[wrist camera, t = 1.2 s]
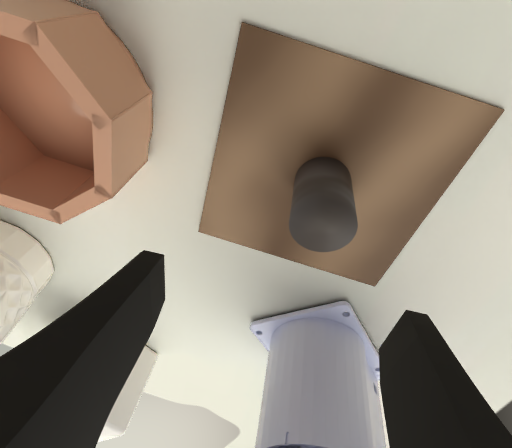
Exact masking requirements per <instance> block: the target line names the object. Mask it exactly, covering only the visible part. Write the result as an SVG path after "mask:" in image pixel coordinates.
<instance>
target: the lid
mask: <svg viewBox="0 0 512 448" xmlns="http://www.w3.org/2000/svg"><path fill="white" fill-rule="evenodd" d="M503 112H504V109H501V108H498V107H495V106H492V105H489V104H486V103H483V102H480V101H477V100H474V99H471V98H468V97H465V96H462V95H459V94H456V93H453V92H450V91H447V90H444V89H441V88H438V87H435V86H432V85H429V84H426V83H423V82H420V81H417V80H414V79H411V78H408V77H405V76H402V75H399V74H396V73H394V72H391V71H388V70H385V69H382V68H379V67H376V66H373V65H370V64H367V63H364V62H361V61H358V60H355V59H352V58H349V57H346V56H343V55H340V54H337V53H334V52H331V51H328V50H325V49H322V48H319V47H316V46H313V45H310V44H307V43H304V42H301V41H298V40H295V39H292V38H289V37H286V36H283V35H280V34H277V33H274V32H271V31H268V30H265V29H262V28H259V27H256V26H253V25H250V24H247V23H244V22H242V24H241V29H240V34H239V38H238V43H237V48H236V53H235V58H234V63H233V67H232V72H231V77H230V82H229V87H228V92H227V96H226V101H225V106H224V111H223V116H222V121H221V125H220V130H219V135H218V140H217V145H216V150H215V154H214V159H213V164H212V169H211V174H210V179H209V183H208V188H207V193H206V198H205V203H204V208H203V212H202V217H201V222H200V227H199V232H201V233H204V234H207V235H211V236H214V237H217V238H220V239H223V240H227V241H230V242H233V243H236V244H240V245H243V246H246V247H249V248H252V249H256V250H259V251H262V252H265V253H269V254H272V255H275V256H278V257H281V258H285V259H288V260H291V261H294V262H298V263H301V264H304V265H307V266H310V267H314V268H317V269H320V270H323V271H327V272H330V273H333V274H336V275H339V276H343V277H346V278H349V279H352V280H356V281H359V282H362V283H365V284H369V285H372V286H376V284H377V283H378V282H379V280H380V279H381V277H382V276H383V275H384V273H385V272H386V271H387V269H388V268H389V267H390V265H391V264H392V263H393V261H394V260H395V258H396V257H397V256H398V254H399V253H400V252H401V250H402V249H403V248H404V246H405V245H406V243H407V242H408V241H409V239H410V238H411V237H412V235H413V234H414V233H415V231H416V230H417V229H418V227H419V226H420V224H421V223H422V222H423V220H424V219H425V218H426V216H427V215H428V214H429V212H430V211H431V210H432V208H433V207H434V205H435V204H436V203H437V201H438V200H439V199H440V197H441V196H442V195H443V193H444V192H445V191H446V189H447V188H448V186H449V185H450V184H451V182H452V181H453V180H454V178H455V177H456V176H457V174H458V173H459V171H460V170H461V169H462V167H463V166H464V165H465V163H466V162H467V161H468V159H469V158H470V157H471V155H472V154H473V152H474V151H475V150H476V148H477V147H478V146H479V144H480V143H481V142H482V140H483V139H484V138H485V136H486V135H487V133H488V132H489V131H490V129H491V128H492V127H493V125H494V124H495V123H496V121H497V120H498V118H499V117H500V116H501V114H502V113H503Z"/></svg>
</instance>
